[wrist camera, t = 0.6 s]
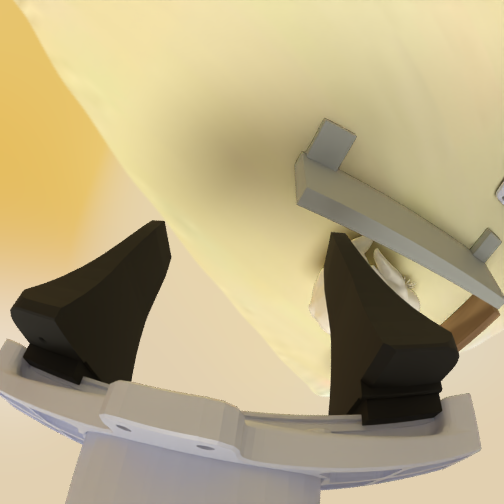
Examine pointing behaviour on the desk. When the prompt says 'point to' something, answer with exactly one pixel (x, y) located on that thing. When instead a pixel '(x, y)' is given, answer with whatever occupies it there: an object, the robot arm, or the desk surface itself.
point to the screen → (388, 217)
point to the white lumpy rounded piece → (383, 270)
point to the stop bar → (470, 320)
